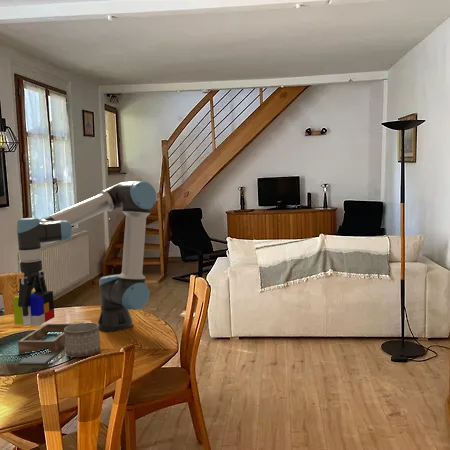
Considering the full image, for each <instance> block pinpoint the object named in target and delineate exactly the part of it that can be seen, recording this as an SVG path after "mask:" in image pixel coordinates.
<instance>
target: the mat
mask: <svg viewBox="0 0 450 450" xmlns="http://www.w3.org/2000/svg"><path fill="white" fill-rule="evenodd" d="M57 355H58V352H55V353H45V354H42V355H38V356H33V357H28V358H25V357H24V358H23V359H21V360H20V361H19V362H18V365H45V364H47V363H49V362H50V361H51V360H52V359H53V358H54V357H56V356H57Z"/></svg>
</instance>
